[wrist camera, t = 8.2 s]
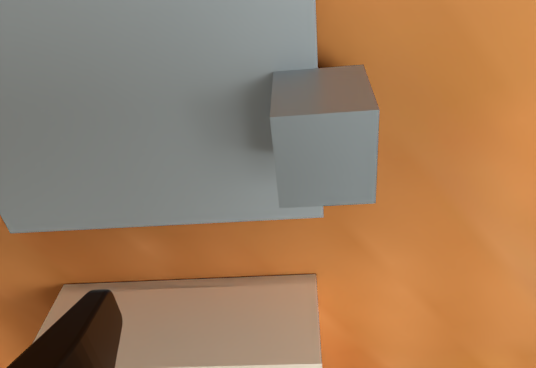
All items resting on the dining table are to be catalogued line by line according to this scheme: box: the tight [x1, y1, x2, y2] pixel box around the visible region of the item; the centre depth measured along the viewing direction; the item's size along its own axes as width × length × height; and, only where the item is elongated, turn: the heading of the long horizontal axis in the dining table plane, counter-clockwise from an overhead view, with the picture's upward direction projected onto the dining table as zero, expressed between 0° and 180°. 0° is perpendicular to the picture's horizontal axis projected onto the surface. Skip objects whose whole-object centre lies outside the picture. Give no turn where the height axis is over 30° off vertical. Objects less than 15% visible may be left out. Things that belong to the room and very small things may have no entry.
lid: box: [0, 0, 379, 233], centre depth 16 cm, size 15×10×5 cm
